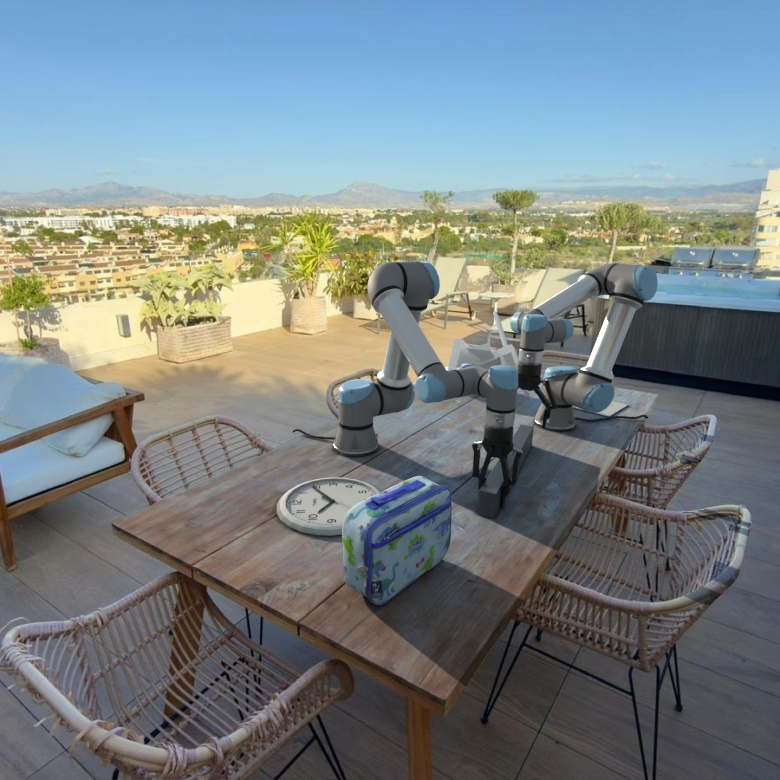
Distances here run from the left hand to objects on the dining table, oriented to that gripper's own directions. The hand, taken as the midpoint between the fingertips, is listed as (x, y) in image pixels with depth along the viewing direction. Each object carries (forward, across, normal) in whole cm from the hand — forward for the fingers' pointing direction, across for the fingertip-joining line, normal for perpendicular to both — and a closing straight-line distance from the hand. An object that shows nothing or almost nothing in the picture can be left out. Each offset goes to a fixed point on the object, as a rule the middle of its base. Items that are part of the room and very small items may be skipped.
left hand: (492, 502), depth 145 cm
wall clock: (0, -39, -20) cm, 44 cm away
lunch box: (0, -11, -40) cm, 42 cm away
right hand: (-10, 0, +39) cm, 40 cm away
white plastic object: (0, -31, +99) cm, 104 cm away
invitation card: (0, +22, +104) cm, 106 cm away
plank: (0, 0, +20) cm, 20 cm away
